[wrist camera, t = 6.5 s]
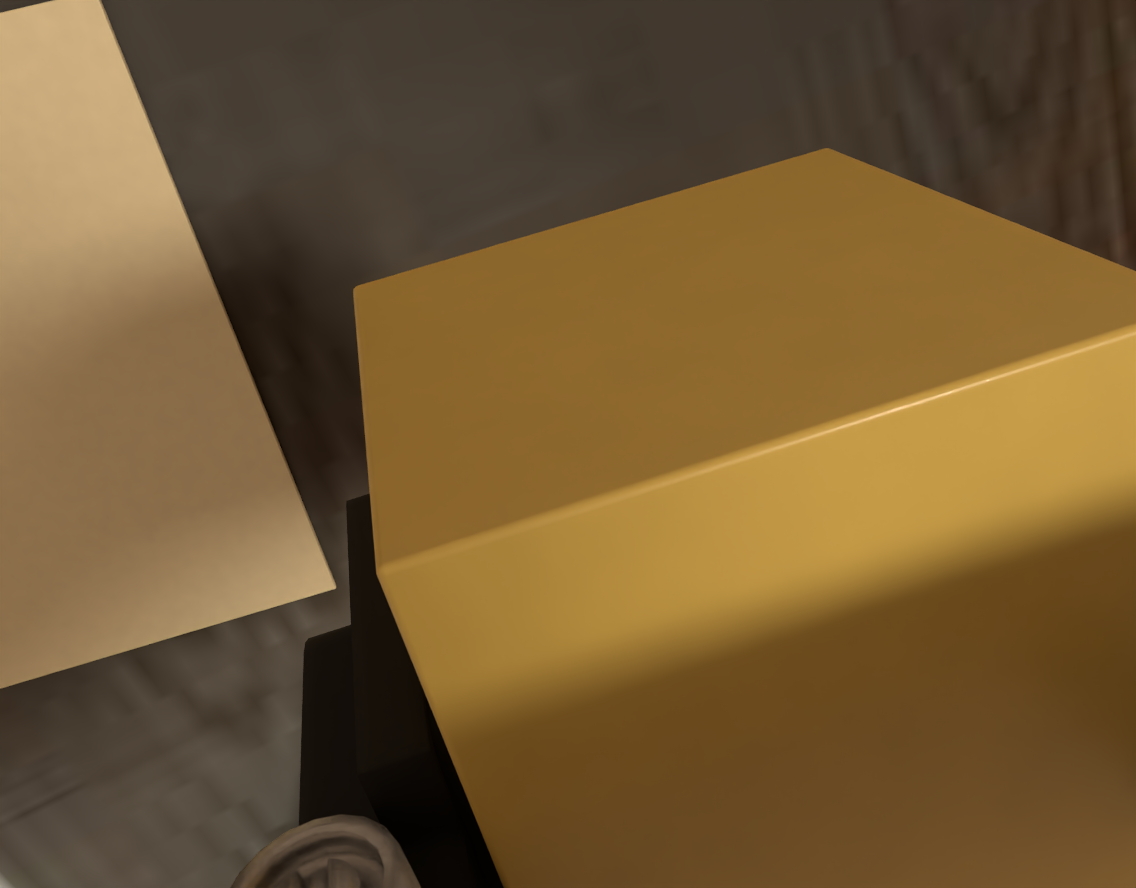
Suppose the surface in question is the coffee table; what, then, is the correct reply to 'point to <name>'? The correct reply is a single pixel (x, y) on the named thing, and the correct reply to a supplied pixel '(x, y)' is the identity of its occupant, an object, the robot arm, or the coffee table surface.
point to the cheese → (770, 538)
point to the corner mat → (119, 379)
